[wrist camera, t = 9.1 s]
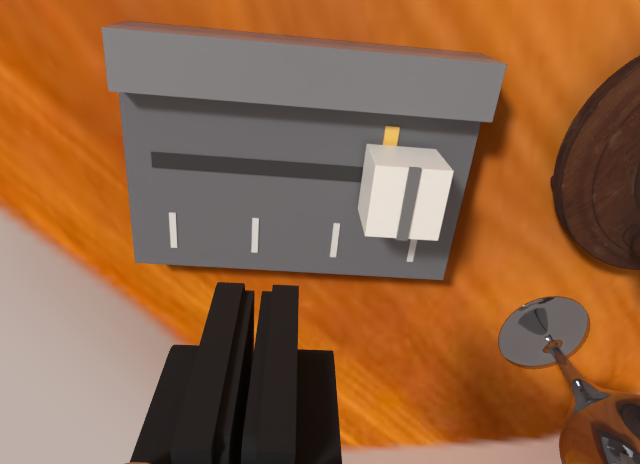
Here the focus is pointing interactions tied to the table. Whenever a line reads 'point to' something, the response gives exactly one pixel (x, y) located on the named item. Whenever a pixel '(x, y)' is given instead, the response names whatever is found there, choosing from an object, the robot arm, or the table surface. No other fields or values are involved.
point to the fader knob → (403, 192)
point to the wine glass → (574, 382)
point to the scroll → (604, 172)
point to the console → (284, 144)
